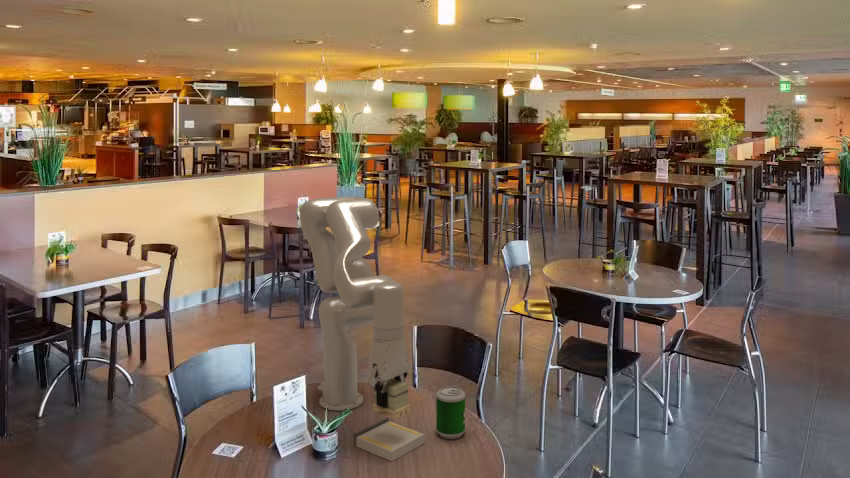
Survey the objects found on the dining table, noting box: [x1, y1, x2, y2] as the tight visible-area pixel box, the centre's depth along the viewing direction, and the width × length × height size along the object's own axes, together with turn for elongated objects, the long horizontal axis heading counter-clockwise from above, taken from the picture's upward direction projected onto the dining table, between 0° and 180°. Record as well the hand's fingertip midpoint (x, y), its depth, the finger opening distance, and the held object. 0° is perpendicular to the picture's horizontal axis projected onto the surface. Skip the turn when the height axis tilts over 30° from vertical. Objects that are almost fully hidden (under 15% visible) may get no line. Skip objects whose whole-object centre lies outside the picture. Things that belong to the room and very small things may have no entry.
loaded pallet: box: [372, 378, 411, 420], centre depth 166 cm, size 8×5×8 cm, turn 50°
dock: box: [353, 417, 425, 462], centre depth 169 cm, size 13×12×3 cm
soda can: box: [435, 385, 466, 440], centre depth 174 cm, size 8×8×12 cm
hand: (390, 402), depth 167 cm, fingers closed on loaded pallet, 5 cm apart
